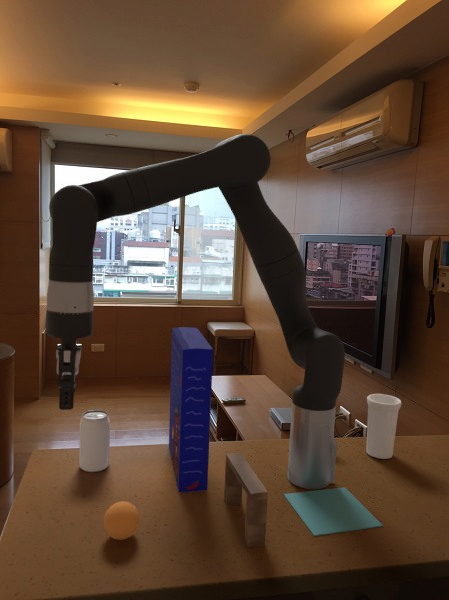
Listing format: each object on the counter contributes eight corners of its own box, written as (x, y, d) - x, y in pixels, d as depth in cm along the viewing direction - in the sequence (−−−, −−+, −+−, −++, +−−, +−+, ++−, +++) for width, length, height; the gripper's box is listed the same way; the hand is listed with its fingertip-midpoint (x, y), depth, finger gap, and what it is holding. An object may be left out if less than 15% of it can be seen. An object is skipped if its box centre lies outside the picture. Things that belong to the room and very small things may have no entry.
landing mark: (344, 488, 103) (344, 487, 103) (382, 526, 90) (383, 525, 90) (283, 495, 100) (283, 494, 100) (314, 536, 86) (314, 535, 86)
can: (101, 474, 105) (102, 421, 103) (73, 470, 106) (74, 418, 104) (114, 461, 111) (114, 411, 109) (88, 457, 112) (88, 407, 111)
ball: (137, 524, 88) (138, 493, 87) (141, 544, 82) (141, 511, 81) (102, 528, 86) (103, 496, 85) (104, 549, 80) (104, 515, 79)
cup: (401, 462, 117) (406, 405, 115) (367, 461, 117) (372, 403, 115) (390, 448, 125) (395, 394, 123) (358, 446, 125) (363, 392, 123)
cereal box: (207, 490, 100) (213, 348, 96) (178, 492, 99) (183, 348, 95) (192, 445, 121) (197, 326, 117) (168, 446, 120) (172, 326, 116)
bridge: (238, 498, 97) (240, 452, 96) (264, 545, 83) (267, 491, 82) (224, 500, 97) (226, 454, 95) (248, 547, 82) (251, 493, 81)
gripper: (93, 314, 76) (89, 414, 78) (93, 302, 90) (90, 387, 92) (42, 313, 74) (40, 416, 76) (50, 300, 88) (48, 388, 90)
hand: (67, 400), depth 84 cm, fingers open, 8 cm apart
